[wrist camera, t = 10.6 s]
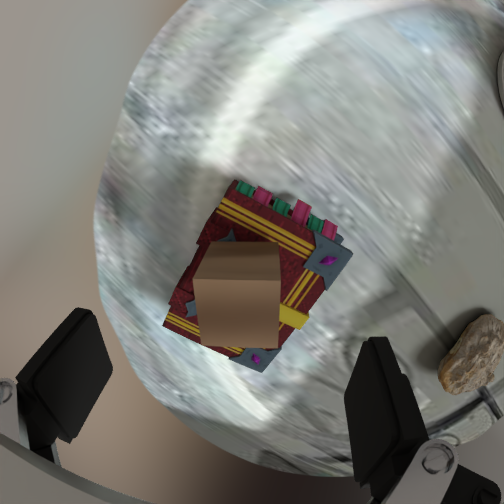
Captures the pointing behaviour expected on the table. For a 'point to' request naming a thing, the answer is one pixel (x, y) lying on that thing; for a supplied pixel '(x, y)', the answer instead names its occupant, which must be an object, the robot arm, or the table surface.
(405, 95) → the table surface
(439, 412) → the table surface
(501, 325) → the fossil
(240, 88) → the table surface
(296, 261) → the decorative book
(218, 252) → the walnut block
